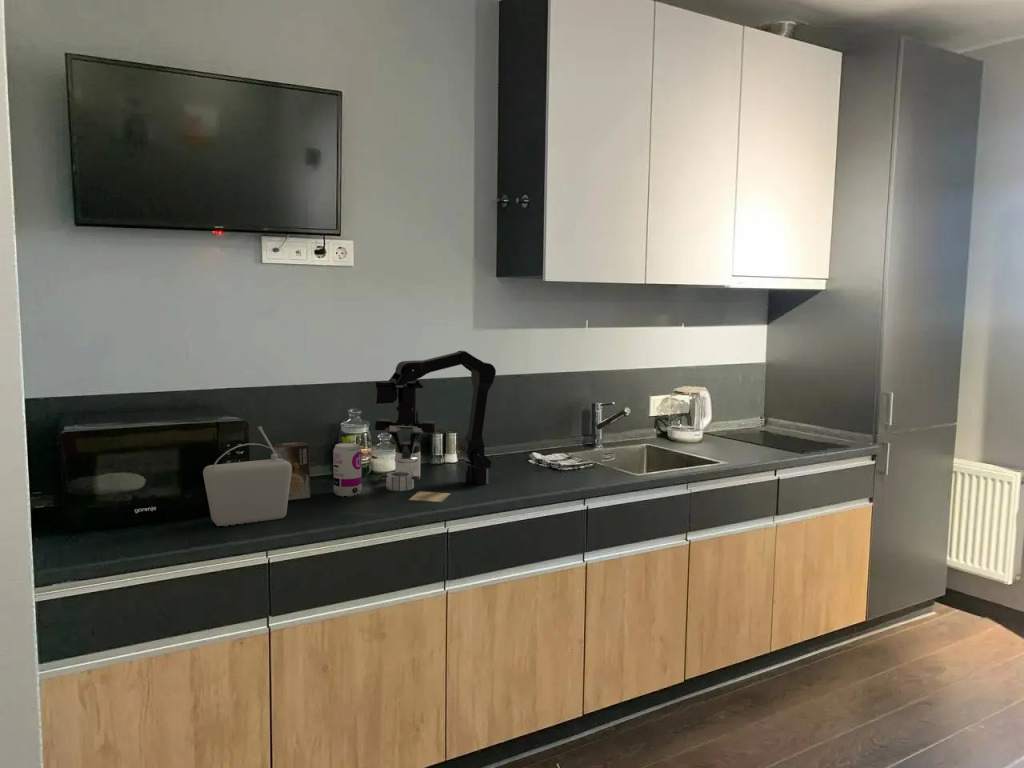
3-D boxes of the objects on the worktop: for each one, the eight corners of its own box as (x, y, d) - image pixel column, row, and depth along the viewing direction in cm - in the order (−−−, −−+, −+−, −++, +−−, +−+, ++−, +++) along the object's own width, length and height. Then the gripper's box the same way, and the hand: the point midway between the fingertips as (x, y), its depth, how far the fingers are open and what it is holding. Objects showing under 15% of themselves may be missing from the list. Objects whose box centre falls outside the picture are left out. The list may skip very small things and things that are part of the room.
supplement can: (366, 491, 242) (366, 443, 241) (352, 498, 235) (352, 448, 233) (343, 489, 245) (342, 441, 243) (328, 495, 237) (328, 446, 236)
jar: (400, 483, 253) (400, 446, 252) (390, 478, 260) (390, 442, 259) (425, 480, 258) (426, 444, 257) (414, 475, 265) (414, 440, 264)
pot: (422, 488, 248) (422, 472, 248) (414, 494, 240) (414, 478, 239) (385, 485, 250) (385, 470, 250) (376, 492, 242) (376, 476, 242)
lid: (420, 458, 244) (420, 442, 244) (414, 463, 237) (414, 446, 237) (398, 457, 245) (398, 441, 245) (391, 462, 238) (391, 445, 238)
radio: (284, 510, 221) (283, 422, 218) (293, 517, 214) (292, 426, 211) (202, 521, 209) (199, 428, 206) (209, 529, 202) (206, 433, 199)
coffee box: (305, 493, 240) (305, 441, 238) (310, 498, 234) (310, 445, 232) (274, 496, 235) (273, 443, 233) (279, 501, 230) (278, 447, 228)
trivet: (450, 495, 239) (450, 493, 239) (441, 504, 230) (441, 501, 229) (418, 493, 241) (418, 491, 241) (408, 502, 231) (408, 499, 231)
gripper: (443, 400, 246) (442, 450, 248) (385, 398, 249) (384, 447, 251) (434, 405, 235) (433, 457, 237) (374, 403, 238) (373, 453, 240)
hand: (406, 453), depth 241 cm, fingers closed on lid, 3 cm apart
